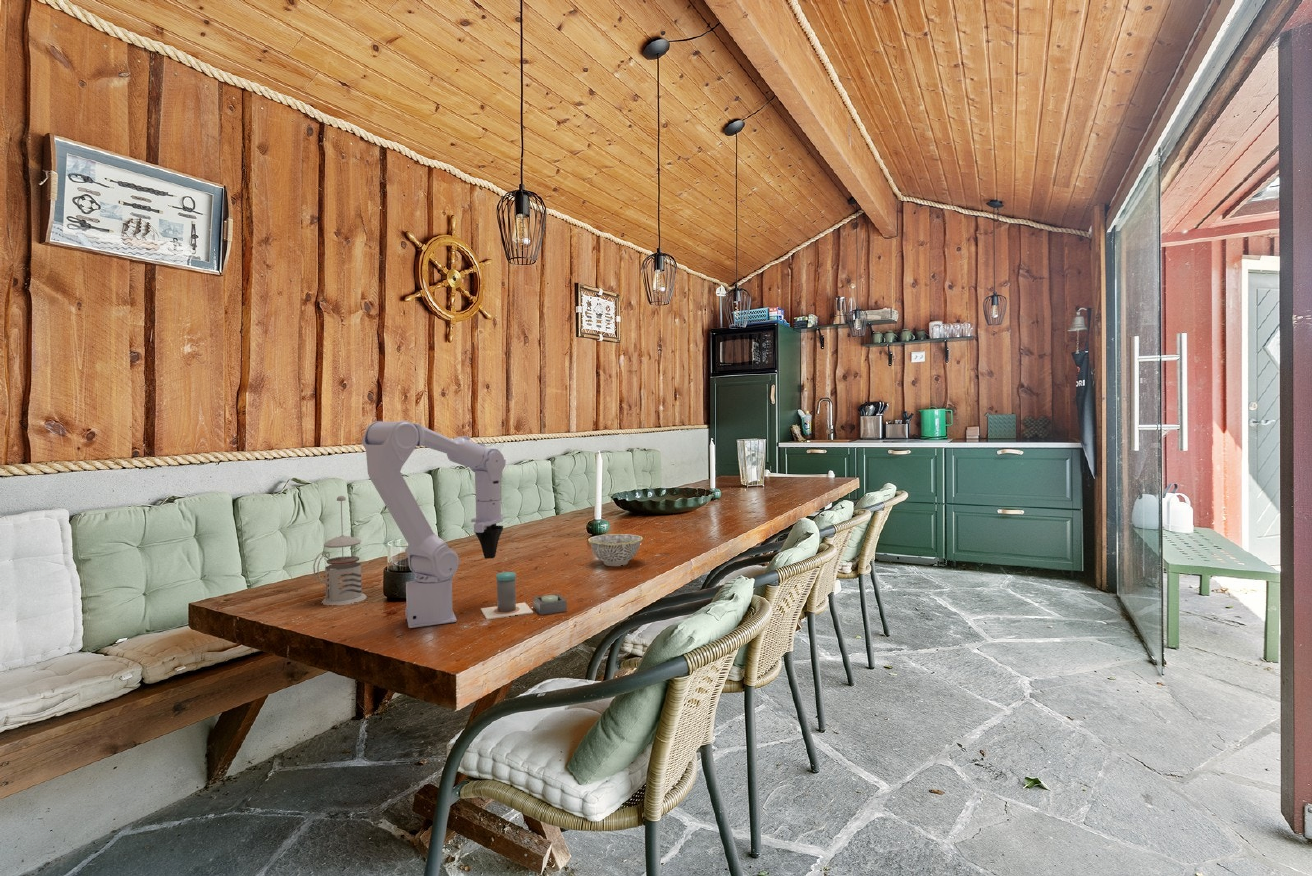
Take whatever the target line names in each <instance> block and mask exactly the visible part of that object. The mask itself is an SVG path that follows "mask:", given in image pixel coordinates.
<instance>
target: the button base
mask: <svg viewBox="0 0 1312 876" xmlns="http://www.w3.org/2000/svg"><path fill="white" fill-rule="evenodd" d="M554 595H555V596H558V601H553V602H545V603H542V597H543V596H544V595H541V596H534V597H533V598H532V599H533V601H532V602H533V603H532V604H533V606H532V607H533V609H534V610H535V612H537V614H539V616H543V615H551V614H558V613H564V612H565V613H566V612H567V611H568V610H567V607H568V605H567V604H568V603H567V599H566V598H565V597H563V596H562V595H561V594H559V593H557V594H554Z"/></svg>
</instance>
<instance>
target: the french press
mask: <svg viewBox="0 0 1312 876" xmlns="http://www.w3.org/2000/svg"><path fill="white" fill-rule="evenodd" d="M346 500H347V499H346V497H345V496H344V495H338V496H337V497H336V501H337V502H340V518H341V526H343V506H342V505H343V501H346ZM343 529H344V528H343V527H341V535H340V536H336V537H333V538H331V539H329V540H327V541H326V542H325V543H323V546H324V548H326V549H327V548H328V549H334V548H336V549H337V548H341V551H342V553H341V554H342V556H336V557H332V558H330V555H331V553H330V552H329V551H322V552H320V553H318V555H317V556H316V558H315V560H314V562H313V567H312V568H313V574H314V576H315V579H317V581H319V582H321V583H324V584H325V597H324V599H323V600H322V601H321V604H322V603H323V604H322V605H324V606H329V605H332V606H333V605H337V606H345V605H351V603H352V604H355V603H354V602H357V603H360V602H362V601H365V600H366V599H367V595H366V594H364V592H362V591H363V589H362V585H363V584H362V582H363V581H362V563H361V562H358V561H360V557H359V556H355V555H352V556H351V555H350V556H349V555H347V556H344V548H348V547H353V546H357V545H360V544H361V542H362V540H361V539H359V538H357V537H353V536H350V535H343V534H344V533H343ZM323 553H324V554H323ZM327 554H328V555H327ZM320 555H321V556H320ZM319 557H320V558H319ZM323 557H325V558H327V560H326V564H328V565H326V566H325V568H324V571H325V573H324V574H325V580H324V579H323V578H321V576H320V571H319V570H320V569H319V568H320V567H319V566H320V564H321V563H320V562H321V561H322V559H323ZM318 558H319V559H318ZM328 558H329V559H328ZM317 560H318V563H317ZM316 563H317V568H315V567H316ZM316 569H317V570H316ZM316 571H317V573H316ZM341 587H342V588H341Z"/></svg>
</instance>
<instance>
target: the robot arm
mask: <svg viewBox="0 0 1312 876" xmlns="http://www.w3.org/2000/svg"><path fill="white" fill-rule="evenodd" d="M470 439H471V437H469V436H467V435H462V436H457V437H454V438H453V439H452V438H451V437H447V436H445V435H444V434H442V433H439V432H437V431H434V430H431V429H430V428H428V427H426V426H423V425H421V424H420V423H415V422H411V421H409V420H399V421H383V420H375V421H373V422H372V423H370V424H369V425H368V426H367V427H366V429H365V432H364V434H363V437H362V440H361V444H362V446H363V448H364V449H365V453H366V454H365V455H366V464H367V465H366V467H367V469H366V470H367V475H368V477H369V479H370V481H371V482H372V484H373V486H374V488H375V489H376V492H377V494H378V495H379V496H380V498H381V500H382V501H383V503H384V505H385V506H386V509H387V510H388V513H389V514H390V516H391V517H392V518H393V521H394V522H395V523H396V524H395V525H396V526H397V528H398V529H399V531H400V533H401V534H402V536H403V537H404V539H405V541H406V543H407V545H406V548H405V549H404V553H405V554H406V556H407V563H408V567H409V569H410V571H411V572H412V573H413V574H414V579H415V580H411V581H406V582H405V595H406V596H405V599H406V602H405V603H406V608H405V610H404V611H405V612H404V613H405V618H406V620H407V621H406V622H407V625H408V629H412V628H413V629H414V628H421V627H428V626H435V625H442V624H449V623H450V624H451V623H455V622H457V617H456V614H455V613H454V610H453V609H454V608H453V579H454V577H455V574H456V573H457V571H458V568H459V565H460V558H459V555H458V553H457V552H456V551H455V550H454V549H451V548H450V547H449V546H448V544H447V542H446V541H445V540H443V539H442V538H441V537H440V536H438V535H437V534H435V533H434V531H433V529H432V527H431V525H430V524H429V521H428V520H427V518H426V516H425V514H424V512H423V511H422V509H421V507H420V505H419V504H418V502H417V500H416V498H415V496H414V494H413V493H412V491H411V489H410V487H409V485H408V484H407V482H406V480H405V478H404V476H403V474H402V473H401V470H402V468H403V466H404V465H405V463H406V462H407V461H408V459H409V458H410V456H411V455H412V453H413V452H414V450H415V449H416V447H425V448H428V449H431V450H434V451H438V452H441V453H444V454H446V457H447V459H448V460H449V461H450V462H452V463H456V464H458V465H461V466H464V467H467V468H469V469H470V470H471V471H472V473H474V487H475V488H474V490H475V493H474V494H475V517H473V518H471V519H470V522H471V523H473V533H474V534H475V536H476V537H477V539H478V541H479V543H480V547H481V550H482V553H483V558H484V559H494V558H496V554H497V548H498V543H499V540H500V536H501V534H502V532H503V531H504V525H497V524H500V523H503V522H504V520H503V519H504V518H503V516H504V515H503V513H502V498H501V497H502V492H501V491H502V490H501V488H502V486H501V480H502V478H503V471H504V469H505V466H506V463H507V462H506V459H505V457H504V455H503V453H502V452H501V450H499V449H498V448H488V447H487V446H486V444H485V443H482V442H481V443H477V442H475V441H472V440H470Z"/></svg>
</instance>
